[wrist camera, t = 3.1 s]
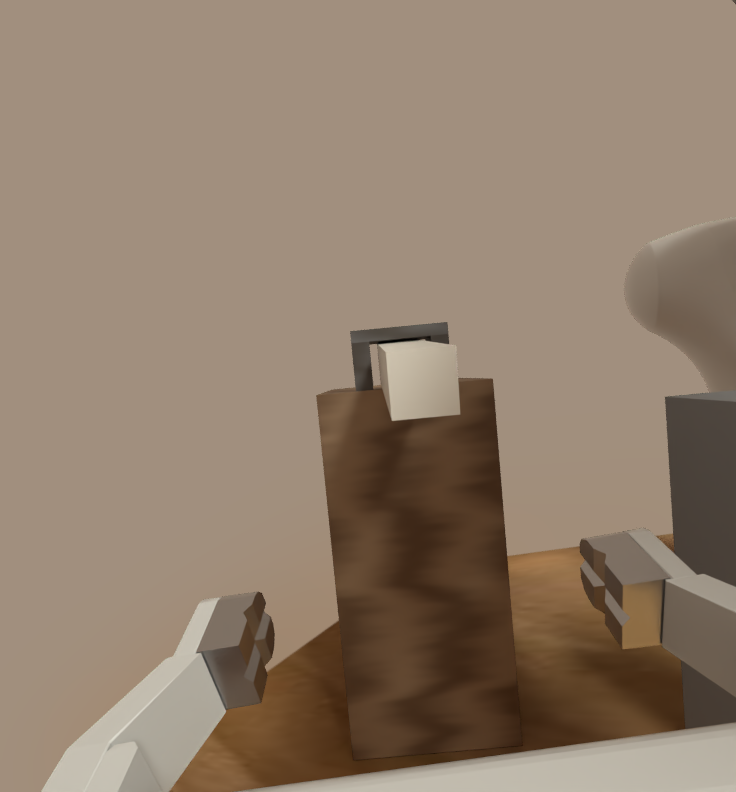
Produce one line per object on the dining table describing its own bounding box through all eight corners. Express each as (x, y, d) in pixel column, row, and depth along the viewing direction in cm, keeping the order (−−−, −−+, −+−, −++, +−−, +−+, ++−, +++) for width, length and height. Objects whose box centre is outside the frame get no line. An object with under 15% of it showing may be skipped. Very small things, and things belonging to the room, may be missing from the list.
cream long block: (420, 379, 31) (417, 339, 30) (460, 414, 18) (456, 345, 17) (380, 383, 31) (377, 343, 30) (391, 420, 18) (385, 352, 17)
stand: (477, 637, 41) (451, 335, 39) (522, 745, 29) (488, 317, 27) (358, 647, 41) (328, 347, 40) (353, 760, 29) (310, 334, 28)
